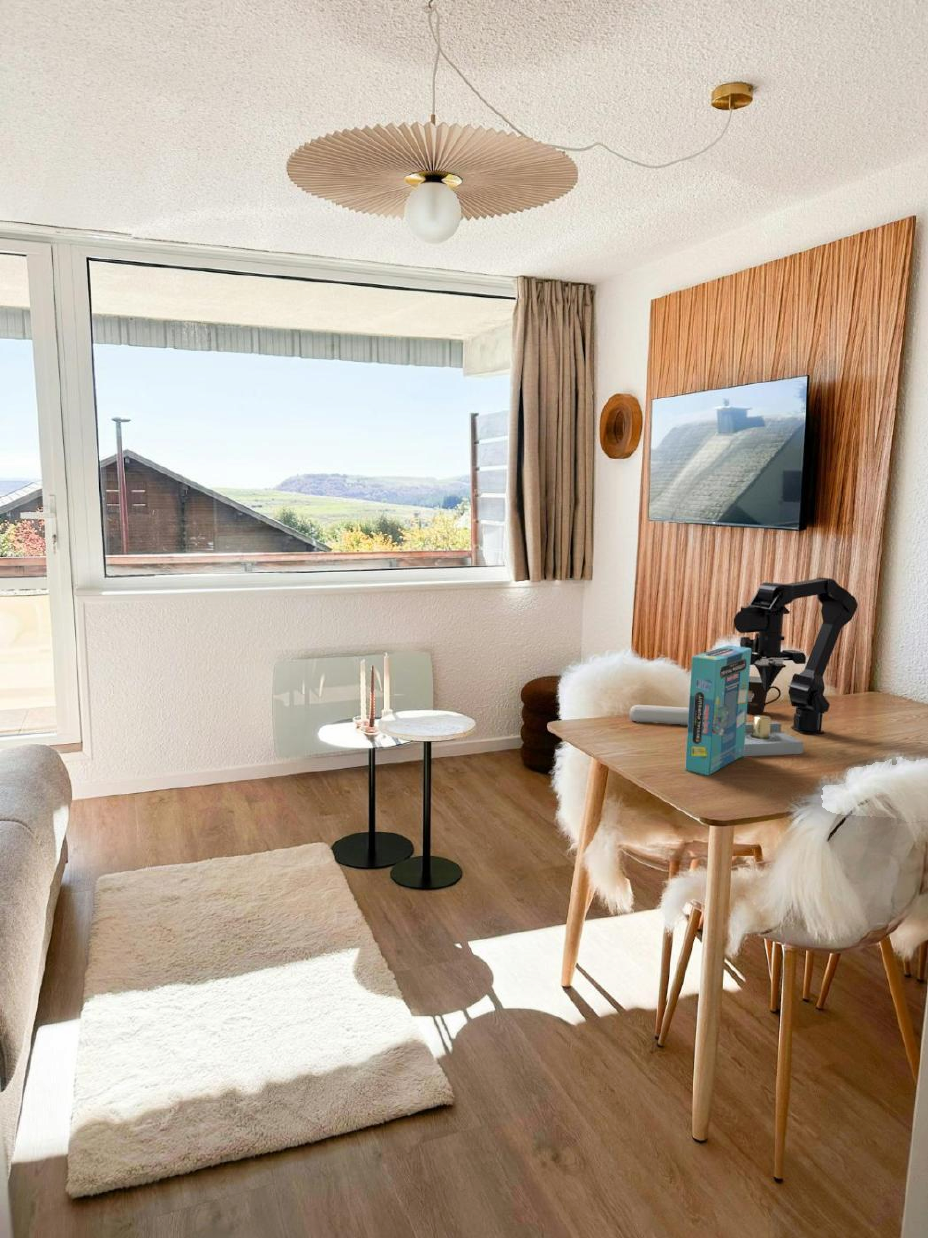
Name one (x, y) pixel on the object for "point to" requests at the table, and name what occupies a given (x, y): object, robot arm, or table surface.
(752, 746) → the jig
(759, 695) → the coffee mug
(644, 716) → the tube
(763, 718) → the brass cylinder
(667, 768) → the table surface
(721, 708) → the game box
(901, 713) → the table surface
